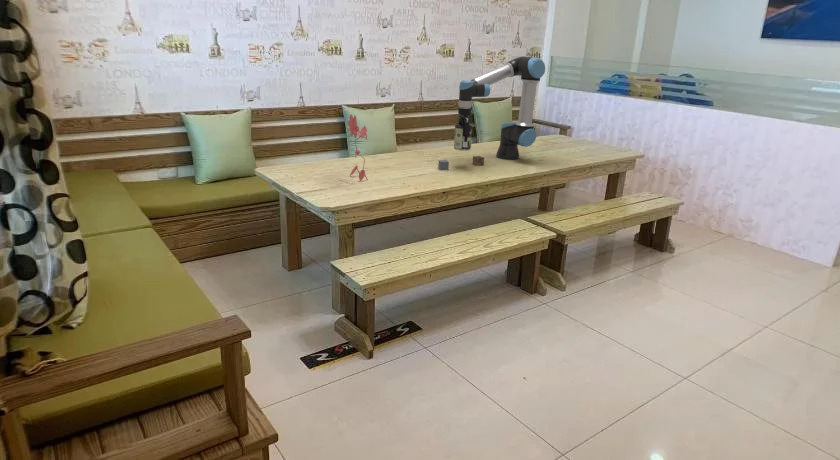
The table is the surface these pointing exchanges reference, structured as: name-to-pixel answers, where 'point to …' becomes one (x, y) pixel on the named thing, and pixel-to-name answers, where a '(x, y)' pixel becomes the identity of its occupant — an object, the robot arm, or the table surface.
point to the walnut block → (478, 160)
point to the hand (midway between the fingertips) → (462, 145)
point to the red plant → (353, 131)
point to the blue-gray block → (443, 165)
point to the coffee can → (461, 138)
